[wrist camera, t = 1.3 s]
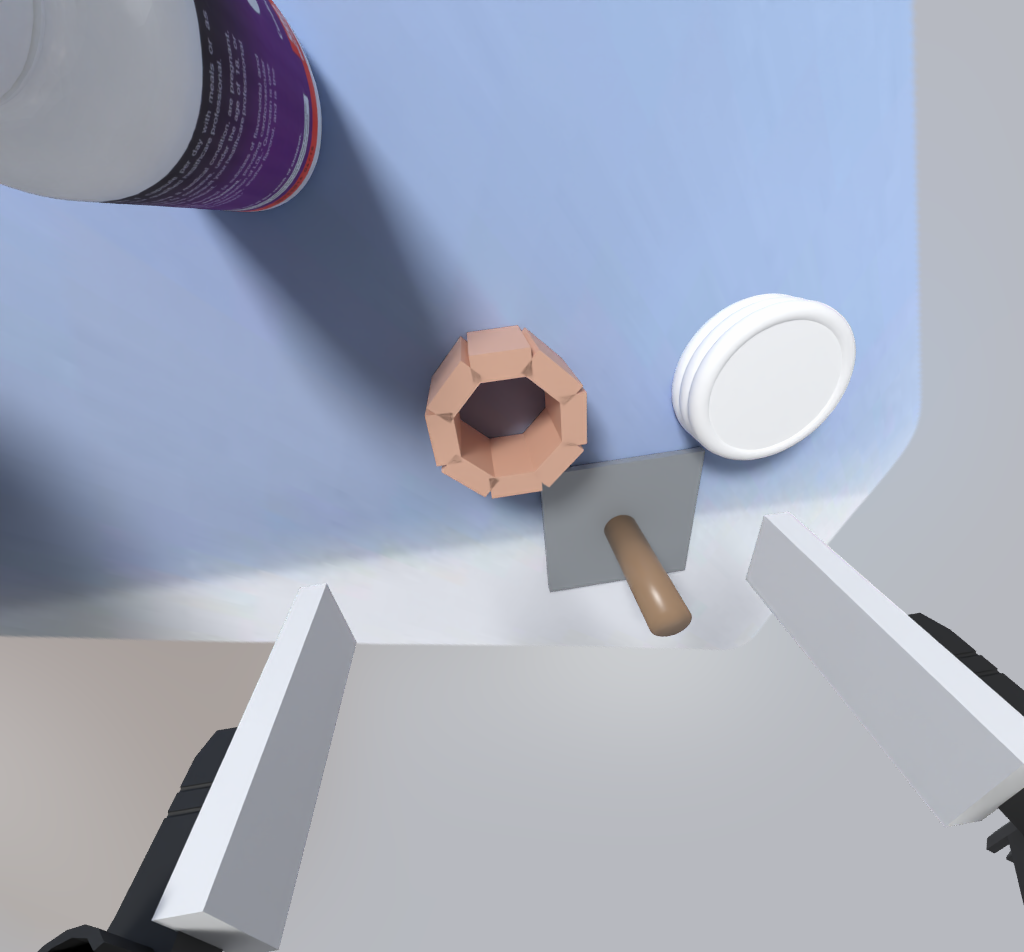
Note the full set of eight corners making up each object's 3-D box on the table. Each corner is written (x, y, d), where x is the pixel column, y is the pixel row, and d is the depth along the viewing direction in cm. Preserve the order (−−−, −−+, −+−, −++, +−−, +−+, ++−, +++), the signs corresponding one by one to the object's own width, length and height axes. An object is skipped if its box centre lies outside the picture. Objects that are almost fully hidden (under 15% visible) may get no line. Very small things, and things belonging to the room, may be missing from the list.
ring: (448, 462, 28) (446, 505, 24) (420, 338, 23) (412, 364, 19) (568, 445, 28) (587, 483, 24) (563, 319, 24) (586, 339, 19)
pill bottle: (350, 50, 17) (78, -391, 5) (304, 245, 20) (77, 277, 8) (119, -106, 14) (-1796, -1976, 2) (111, 149, 18) (-648, -18, 6)
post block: (548, 586, 35) (575, 693, 27) (538, 471, 29) (569, 567, 21) (681, 565, 36) (746, 664, 28) (700, 446, 29) (792, 531, 21)
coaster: (844, 296, 25) (896, 306, 22) (778, 440, 30) (813, 464, 27) (693, 287, 24) (727, 296, 21) (652, 439, 29) (674, 463, 26)
